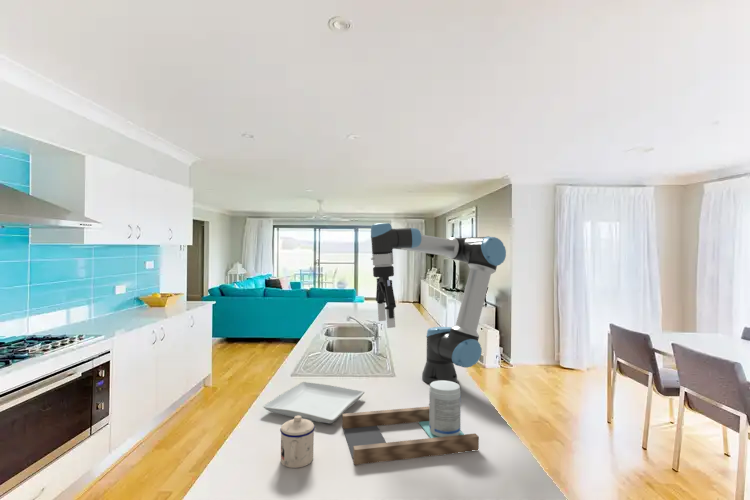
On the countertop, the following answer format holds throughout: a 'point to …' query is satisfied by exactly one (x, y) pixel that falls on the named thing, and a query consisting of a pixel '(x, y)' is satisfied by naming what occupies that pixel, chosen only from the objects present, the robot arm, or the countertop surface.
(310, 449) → the teacup with lid
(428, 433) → the pad
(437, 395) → the supplement tub
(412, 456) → the channel rails
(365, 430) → the trap mat
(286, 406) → the square plate
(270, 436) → the countertop surface
